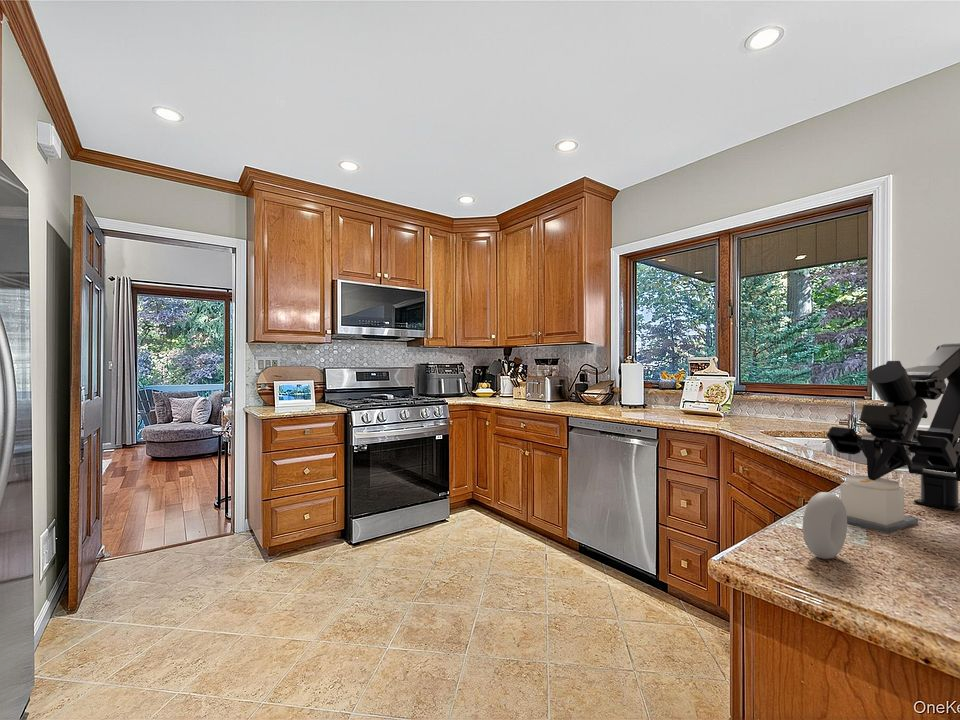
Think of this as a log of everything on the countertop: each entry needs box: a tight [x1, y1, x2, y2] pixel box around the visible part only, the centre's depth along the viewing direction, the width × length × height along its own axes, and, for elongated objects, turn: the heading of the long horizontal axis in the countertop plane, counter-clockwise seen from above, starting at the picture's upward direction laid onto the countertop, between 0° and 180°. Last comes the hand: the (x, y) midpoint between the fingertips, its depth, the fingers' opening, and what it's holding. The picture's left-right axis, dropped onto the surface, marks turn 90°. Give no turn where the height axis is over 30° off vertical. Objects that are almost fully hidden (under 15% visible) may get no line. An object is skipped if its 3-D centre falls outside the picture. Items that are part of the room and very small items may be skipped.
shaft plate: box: [847, 514, 919, 534], centre depth 87 cm, size 12×10×7 cm
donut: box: [802, 491, 848, 560], centre depth 70 cm, size 10×3×10 cm, turn 124°
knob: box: [840, 474, 905, 525], centre depth 86 cm, size 8×8×7 cm
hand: (871, 478), depth 87 cm, fingers closed, pressing on knob
